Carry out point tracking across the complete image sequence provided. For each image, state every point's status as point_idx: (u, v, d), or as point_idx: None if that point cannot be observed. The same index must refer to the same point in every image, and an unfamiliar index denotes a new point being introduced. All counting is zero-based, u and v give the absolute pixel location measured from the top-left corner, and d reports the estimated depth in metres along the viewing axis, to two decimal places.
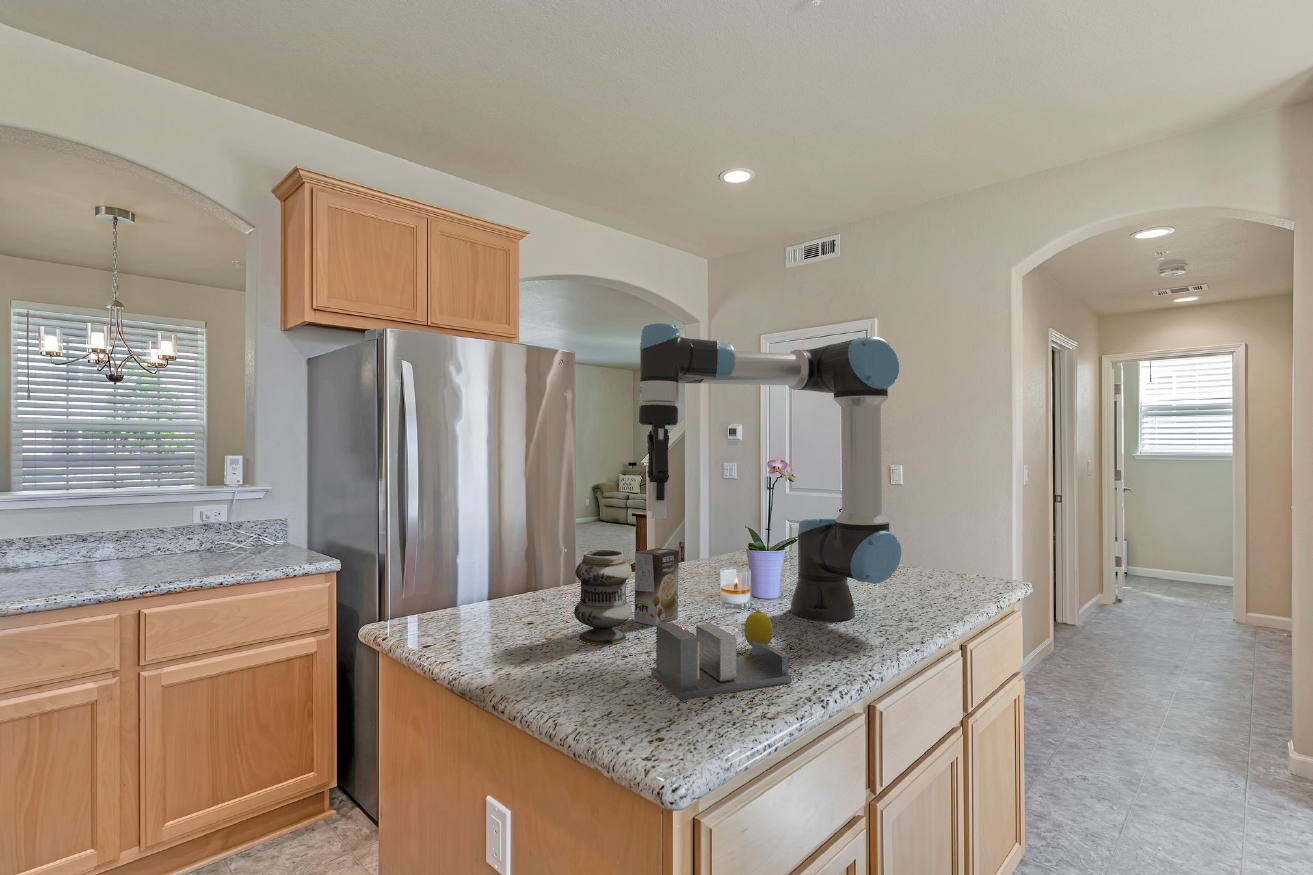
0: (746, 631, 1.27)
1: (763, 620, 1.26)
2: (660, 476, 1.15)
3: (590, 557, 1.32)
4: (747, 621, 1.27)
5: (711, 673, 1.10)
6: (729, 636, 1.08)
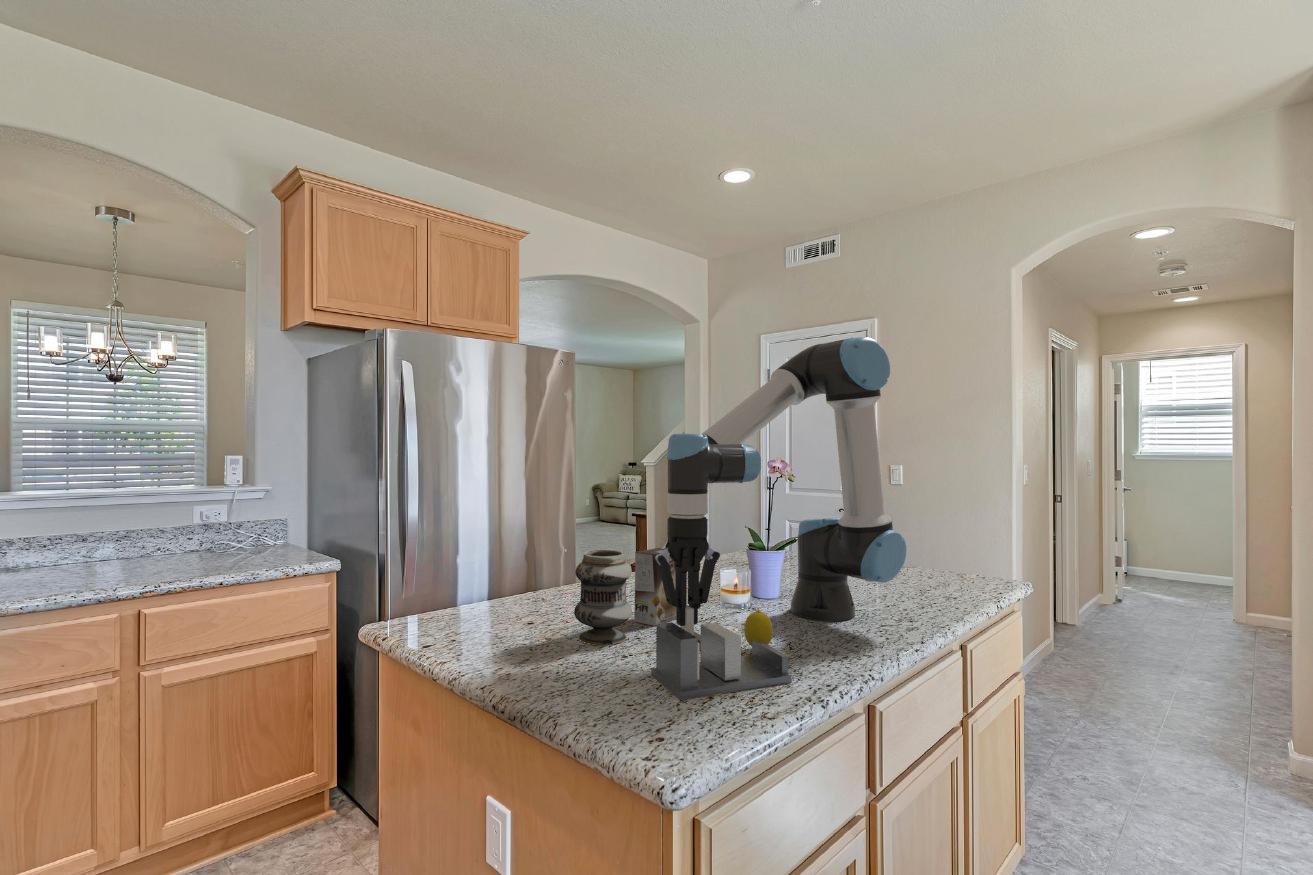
0: (746, 631, 1.27)
1: (763, 620, 1.26)
2: (669, 603, 1.19)
3: (590, 557, 1.32)
4: (747, 621, 1.27)
5: (716, 672, 1.10)
6: (733, 635, 1.09)
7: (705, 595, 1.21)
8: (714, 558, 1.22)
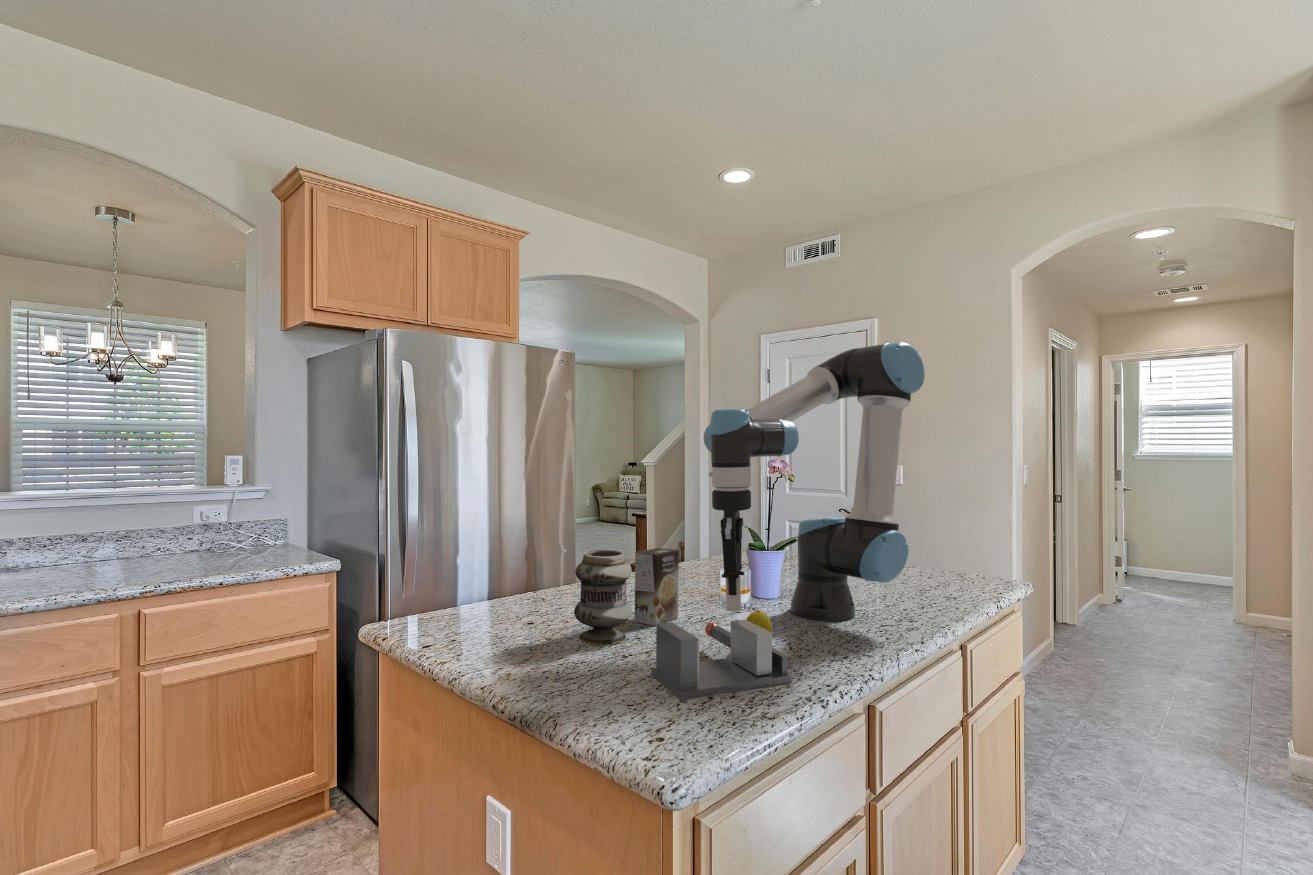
0: None
1: (763, 620, 1.26)
2: (729, 575, 1.22)
3: (590, 557, 1.32)
4: None
5: (747, 668, 1.12)
6: (765, 631, 1.11)
7: None
8: None
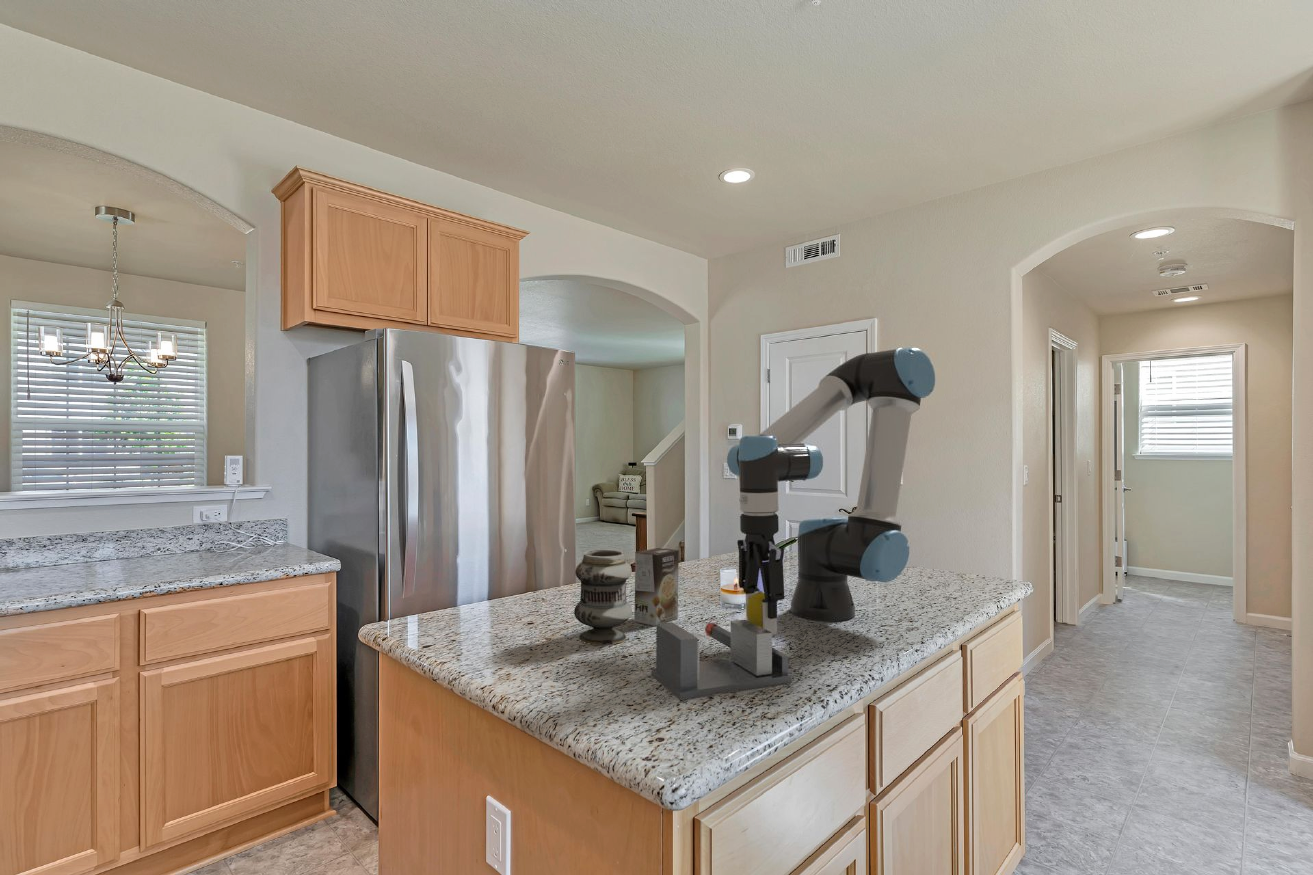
0: (748, 612, 1.27)
1: None
2: (777, 599, 1.22)
3: (590, 557, 1.32)
4: (749, 602, 1.27)
5: (747, 668, 1.12)
6: (765, 631, 1.11)
7: None
8: None
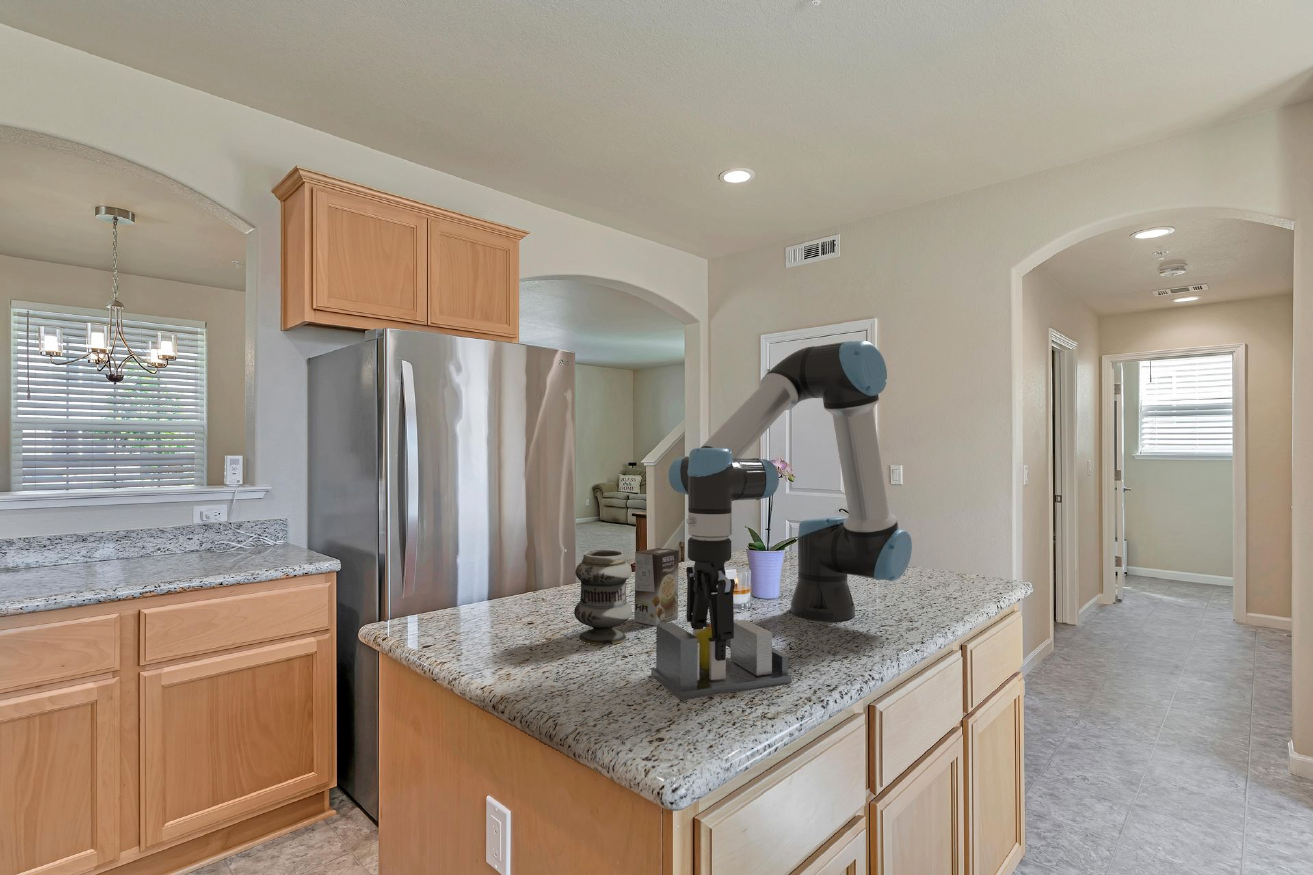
0: None
1: None
2: (725, 638, 1.05)
3: (590, 557, 1.32)
4: None
5: (747, 668, 1.12)
6: (765, 631, 1.11)
7: None
8: None
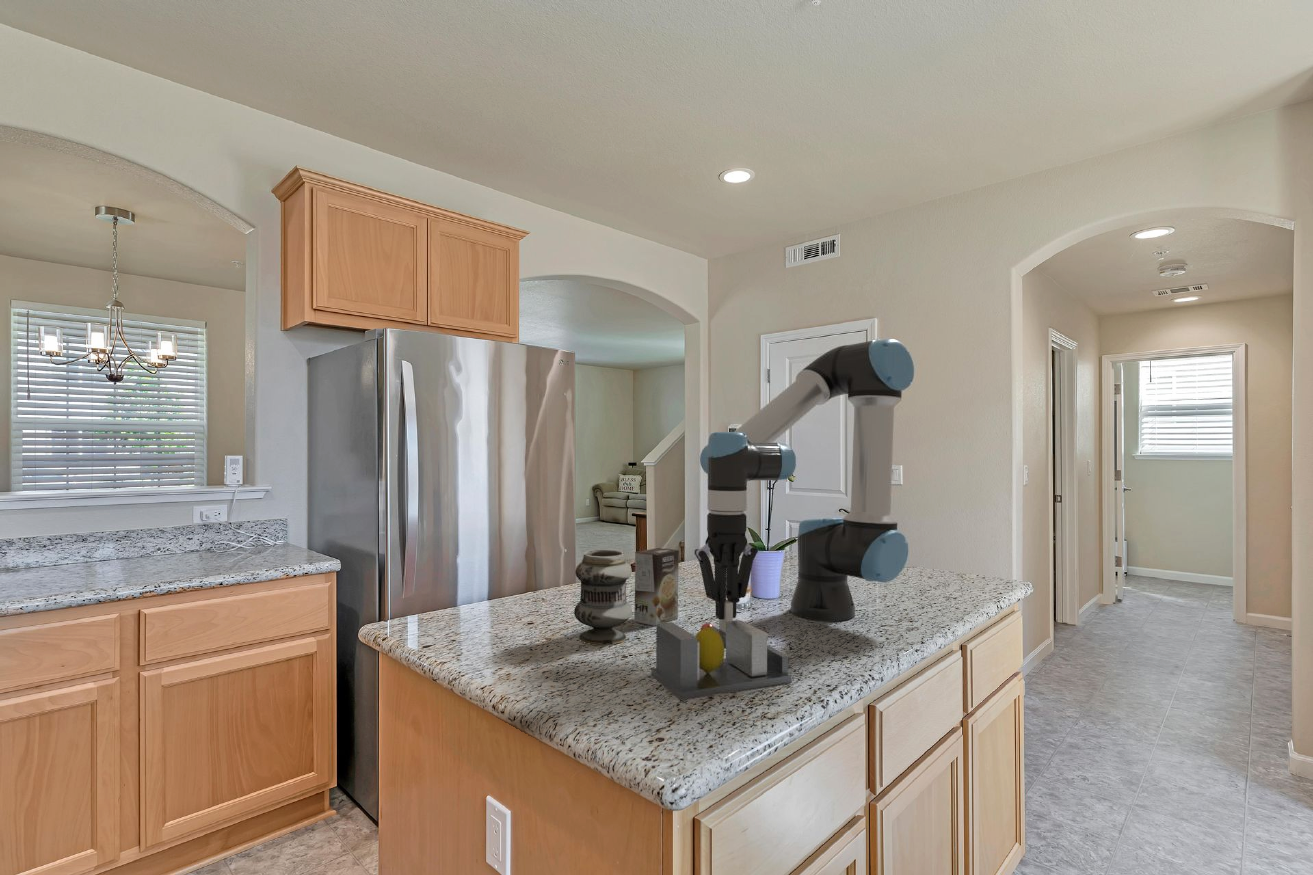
0: None
1: (713, 639, 1.09)
2: (709, 597, 1.23)
3: (590, 557, 1.32)
4: None
5: (742, 668, 1.12)
6: (760, 632, 1.11)
7: (744, 589, 1.24)
8: (752, 553, 1.25)
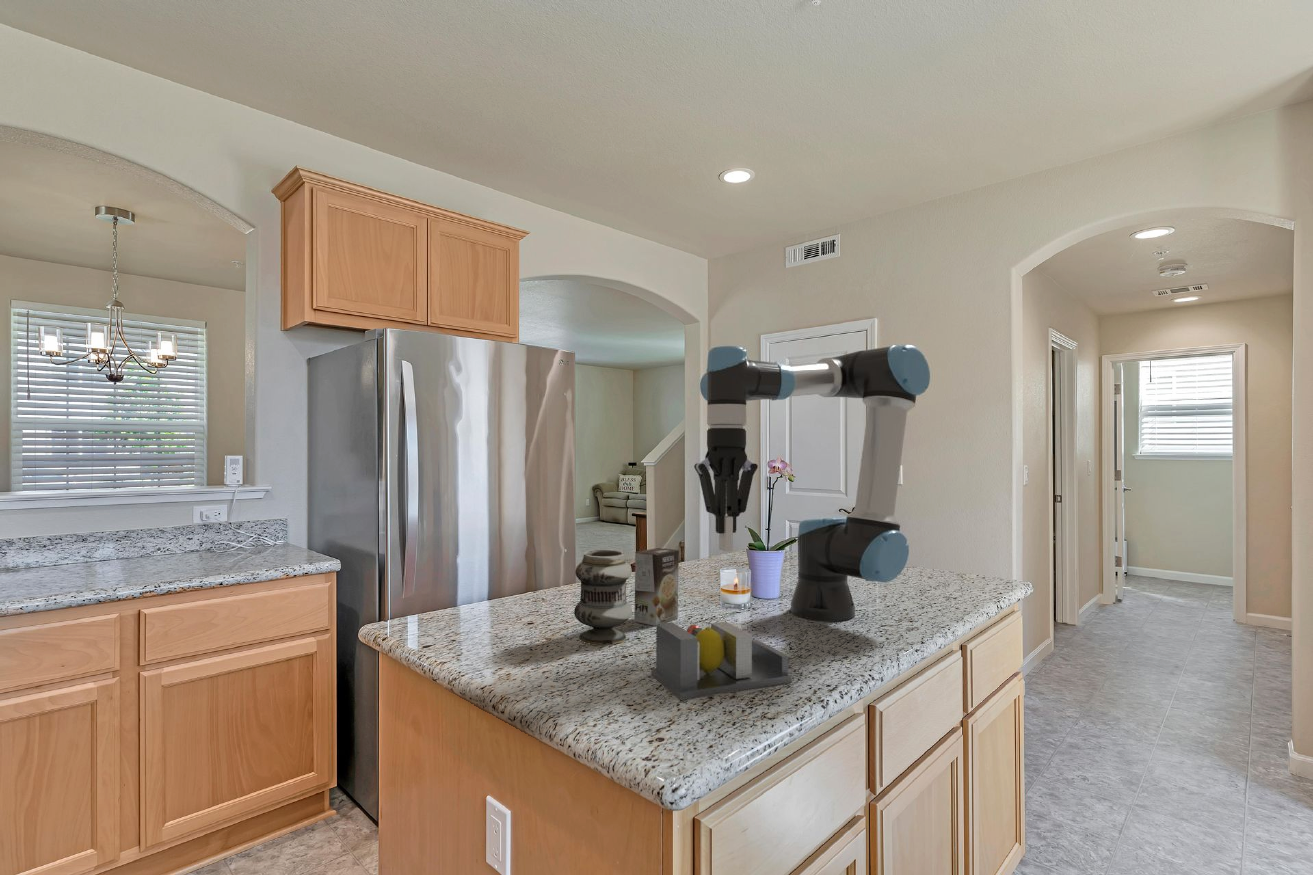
0: None
1: (713, 639, 1.09)
2: (709, 511, 1.23)
3: (590, 557, 1.32)
4: None
5: (726, 671, 1.11)
6: (744, 634, 1.09)
7: (744, 504, 1.24)
8: (752, 469, 1.25)
